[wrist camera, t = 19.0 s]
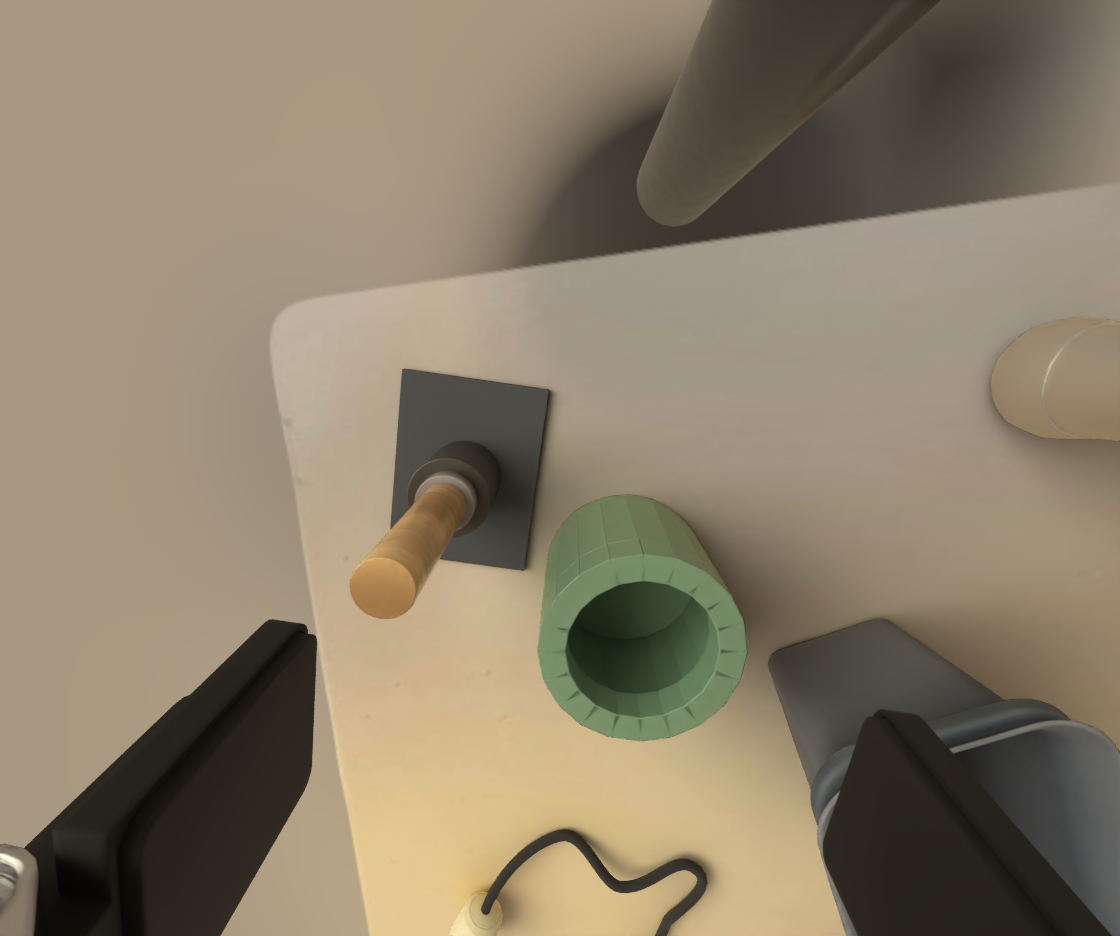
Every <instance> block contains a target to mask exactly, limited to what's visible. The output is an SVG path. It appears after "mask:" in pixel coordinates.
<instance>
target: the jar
mask: <svg viewBox="0 0 1120 936" xmlns="http://www.w3.org/2000/svg"><path fill="white" fill-rule="evenodd" d="M746 656H747V641H746V631H745V623H744V619H743V617H742V615H741V613H740V611H739V609H738V607H737V605H736V603H735V601H734V599H733V597H732V595H731V594H730V592H729V590H728V589H727V587H726V585H725V584H724V582H723V581H722V579H721V577H720V576H719V574H718V572H717V571H716V569H715V567H714V566H713V564H712V562H711V561H710V559H709V558H708V556H707V554H706V553H705V551H704V549H703V548H702V546H701V544H700V543H699V541H698V540H697V538H696V536H695V535H694V533H693V531H692V530H691V529H690V528H689V527H688V525H687V524H686V523H685V521H684V520H683V519H682V518H681V517H680V516H679V515H678V514H677V513H675V512H674V511H673V510H671V509H670V508H668V507H667V506H665V505H663V504H661V503H659V502H657V501H655V500H652V499H649V498H646V497H641V496H635V495H615V496H610V497H605V498H601V499H598V500H595V501H593V502H591V503H589V504H586V505H585V506H583V507H582V508H580V509H578V510H577V511H576V512H574V513H573V514H572V515H571V516H570V517H569V518H568V519H567V520H566V521H565V522H564V523H563V524H562V526H561V527H560V528H559V530H558V531H557V533H556V535H555V537H554V538H553V541H552V543H551V546H550V549H549V553H548V558H547V566H546V573H545V582H544V592H543V601H542V611H541V621H540V631H539V640H538V658H539V663H540V668H541V672H542V677H543V680H544V682H545V684H546V686H547V687H548V689H549V691H550V692H551V694H552V696H553V697H554V699H555V701H556V702H557V704H558V705H559V707H561V708H562V709H563V710H564V711H565V712H566V713H568V714H569V715H570V716H571V717H572V718H573V719H575V720H576V721H577V722H578V723H579V724H580V725H582V726H584V727H586V728H589V729H591V730H593V731H596V732H598V733H600V734H603V735H605V736H607V737H609V736H610V737H612V738H620V739H627V740H634V741H648V740H655V739H663V738H670V737H671V736H672V737H673V736H675V735H678V734H680V733H682V732H685V731H687V730H689V729H692V728H694V727H696V726H699V725H700V724H702V723H703V722H704V721H706V720H707V719H708V718H709V717H711V716H712V715H713V714H714V713H715V712H717V711H718V710H719V709H720V708H721V707H723V706H724V704H725V703H726V702H727V700H728V699H729V697H730V695H731V694H732V692H733V691H734V689H735V688H736V686H737V685H738V683H739V682H740V679H741V676H742V672H743V668H744V664H745V660H746Z"/></svg>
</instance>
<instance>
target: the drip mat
mask: <svg viewBox="0 0 1120 936" xmlns="http://www.w3.org/2000/svg"><path fill="white" fill-rule="evenodd" d="M548 394H549V390H548V389H541V388H534V387H527V386H520V385H513V384H506V383H499V382H492V381H485V380H479V379H472V378H465V377H458V376H451V375H444V374H437V373H430V372H423V371H416V370H410V369H402V379H401V392H400V406H399V419H398V433H397V446H396V460H395V473H394V487H393V501H392V514H391V528H390V530H391V529H392V528H393V527H394V525H395V524H396V523H397V522H398V521H399V520H400V519H401V518H402V517H403V516H404V514H405V513H406V512H407V511H408V510H409V507H408V504H407V488H408V485H409V482H410V480H411V478H412V476H413V474H414V473H415V472H416V471H417V469H419V468H420V467H421V466H422V465H423V464H424V463H425V462H426V461H427V460H429V459H430V458H431V457H432V456H433V455H434V454H435V453H436V452H437V451H439V450H440V449H441V448H442V447H444V446H445V445H447V444H449V443H452V442H455V441H471V442H475V443H478V444H480V445H482V446H484V447H485V448H486V449H488V450H489V451H490V452H491V453H492V454H493V455H494V457H495V458H496V460H497V462H498V464H499V467H500V471H501V484H500V488H499V490H498V493H497V495H496V497H495V499H494V502H493V504H492V506H491V508H490V510H489V513H488V515H487V517H486V519H485V520H484V522H483V523H482V524H481V526H480V527H479V528H477V529H476V530H475V531H473V532H472V533H470V534H468V535H466V536H463V537H458V538H451V539H450V541H449V543H448V545H447V546H446V548H445V550H444V552H443V553H442V555H441V557H440V559H443V560H450V561H458V562H465V563H472V564H479V565H486V566H493V567H501V568H508V569H515V570H522V571H524V569H525V562H526V555H527V548H528V540H529V533H530V526H531V518H532V511H533V504H534V497H535V489H536V482H537V475H538V467H539V460H540V453H541V445H542V438H543V431H544V424H545V416H546V409H547V402H548Z"/></svg>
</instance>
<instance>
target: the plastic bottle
mask: <svg viewBox="0 0 1120 936" xmlns="http://www.w3.org/2000/svg"><path fill="white" fill-rule="evenodd" d="M991 392H992V397H993V400H994V403H995V405H996V408H997V410H998V412H999V413H1000V414H1001V416H1002V417H1003V418H1004V419H1005V420H1006V421H1007V422H1009V423H1010V424H1011V425H1014V426H1016V427H1018V428H1020V429H1022V430H1025V431H1027V432H1029V433H1031V434H1034V435H1036V436H1040V437H1045V438H1059V439H1091V438H1094V439H1104V440H1113V441H1120V322H1117V321H1113V320H1108V319H1100V318H1091V317H1072V318H1067V319H1062V320H1058V321H1053V322H1049V323H1045V324H1041V325H1039V326H1036V327H1034V328H1031V329H1030V330H1028V331H1026V332H1025V333H1023V334H1021V335H1020V336H1019V337H1018V338H1017V339H1016V340H1014V341H1013V342H1012V343H1011V344H1010V345H1009V346H1008V347H1007V349H1006V350H1005V351H1004V352H1003V353H1002V355H1001V356H1000V358H999V360H998V361H997V363H996V365H995V368H994V370H993V374H992V379H991Z"/></svg>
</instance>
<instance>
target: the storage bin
mask: <svg viewBox="0 0 1120 936" xmlns="http://www.w3.org/2000/svg"><path fill="white" fill-rule="evenodd" d="M768 666H769V671H770V673H771V676H772V679H773V682H774V684H775V687H776V690H777V693H778V696H779V699H780V702H781V704H782V707H783V710H784V713H785V716H786V719H787V722H788V725H789V728H790V731H791V734H792V737H793V740H794V743H795V745H796V748H797V751H798V754H799V757H800V760H801V763H802V766H803V768H804V771H805V774H806V777H807V780H808V782H809V785H810V788H811V806H812V810H813V813H814V816H815V819H816V822H817V825H818V830H817V839H818V846H819V849H820V853H821V857H822V860H823V863H824V867H825V870H826V873H827V877H828V880H829V883H830V886H831V890H832V893H833V896H834V899H835V902H836V905H837V908H838V911H839V914H840V917H841V921H842V924H843V927H844V930H845V933H846V936H858V935H857V933H856V930H855V928H854V926H853V924H852V922H851V920H850V917H849V915H848V913H847V911H846V909H845V907H844V904H843V902H842V900H841V898H840V896H839V893H838V891H837V889H836V887H835V885H834V883H833V880H832V878H831V876H830V874H829V872H828V869H827V867H826V864H825V861H824V857H823V840H824V836H825V834H826V831H827V828H828V825H829V822H830V819H831V816H832V813H833V810H834V807H835V804H836V801H837V798H838V795H839V792H840V789H841V786H842V783H843V780H844V777H845V775H846V772H847V769H848V766H849V763H850V760H851V757H852V754H853V751H854V748H855V745H856V742H857V739H858V736H859V733H860V730H861V727H862V724H863V722H864V720H865V719H866V718H867V717H870V716H872V717H873V715H874V713H875V712H876V711H877V710H880V709H886V710H893V711H900V712H906V713H913V714H916V715H919V716H920V717H921V718H922V719H923V720H924V721H925V722H926V723H927V724H928V725H929V726H930V728H931V729H932V730H933V731H934V732H935V733H936V734H937V736H938V737H939V738H940V739H941V740H942V741H943V742H944V744H945V745H946V746H947V747H948V748H949V749H950V750H951V752H952V753H953V754H954V755H955V756H956V757H957V759H958V760H959V761H960V762H961V763H962V764H963V765H964V767H965V768H966V769H967V770H968V771H969V772H970V773H971V775H972V776H973V777H974V778H975V779H976V780H977V781H978V783H979V784H980V785H981V786H982V787H983V788H984V789H985V791H986V792H987V793H988V794H989V795H990V796H991V797H992V799H993V800H994V801H995V802H996V803H997V804H998V805H999V807H1000V808H1001V809H1002V810H1003V811H1004V812H1005V814H1006V815H1007V816H1008V817H1009V818H1010V819H1011V820H1012V822H1013V823H1014V824H1015V825H1016V826H1017V827H1018V828H1019V830H1020V831H1021V832H1022V833H1023V834H1024V835H1025V836H1026V838H1027V839H1028V840H1029V841H1030V842H1031V843H1032V844H1033V846H1034V847H1035V848H1036V849H1037V850H1038V851H1039V852H1040V854H1041V855H1042V856H1043V857H1044V858H1045V859H1046V861H1047V862H1048V863H1049V864H1050V865H1051V866H1052V867H1053V869H1054V870H1055V871H1056V872H1057V873H1058V874H1059V875H1060V877H1061V878H1062V879H1063V880H1064V881H1065V882H1066V883H1067V885H1068V886H1069V887H1070V888H1071V889H1072V890H1073V891H1074V893H1075V894H1076V895H1077V896H1078V897H1079V898H1080V899H1081V901H1082V902H1083V903H1084V904H1085V905H1086V906H1087V907H1088V909H1089V910H1090V911H1091V912H1092V913H1093V914H1094V916H1095V917H1096V918H1097V919H1098V920H1099V921H1100V922H1101V924H1102V925H1103V926H1104V927H1105V928H1106V929H1107V930H1108V932H1109V933H1110V934H1111V935H1112V936H1120V751H1119V749H1118V748H1117V747H1116V745H1115V744H1114V742H1113V741H1112V740H1111V739H1110V738H1109V737H1108V736H1107V735H1106V734H1105V733H1103V732H1102V731H1100V730H1098V729H1097V728H1094V727H1092V726H1090V725H1087V724H1084V723H1081V722H1076V721H1072V720H1071V719H1070V718H1068V717H1067V716H1066V715H1065V714H1064V713H1063V712H1062V711H1060V710H1059V709H1057V708H1056V707H1054V706H1052V705H1050V704H1048V703H1045V702H1042V701H1038V700H1033V699H1010V700H1004V699H1002V698H1001V697H999V696H998V695H996V694H995V693H993V692H992V691H991V690H989V689H988V688H986V687H985V686H983V685H982V684H980V683H979V682H977V681H976V680H975V679H973V678H972V677H970V676H969V675H967V674H966V673H964V672H963V671H962V670H960V669H959V668H957V667H956V666H954V665H953V664H951V663H950V662H948V661H947V660H946V659H944V658H943V657H941V656H940V655H938V654H937V653H935V652H934V651H932V650H931V649H929V648H928V647H926V646H925V645H924V644H922V643H921V642H919V641H918V640H916V639H915V638H913V637H912V636H910V635H909V634H908V633H906V632H905V631H903V630H902V629H900V628H899V627H897V626H896V625H894V624H893V623H892V622H890V621H889V620H886V619H873V620H870V621H867V622H864V623H861V624H858V625H855V626H852V627H849V628H846V629H843V630H840V631H837V632H834V633H831V634H828V635H825V636H822V637H819V638H816V639H813V640H810V641H807V642H803V643H800V644H797V645H794V646H790V647H787V648H784V649H781V650H779V651H776V652H775V653H774V654H773V655H772V656H771V657H770V659H769V663H768Z"/></svg>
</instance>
